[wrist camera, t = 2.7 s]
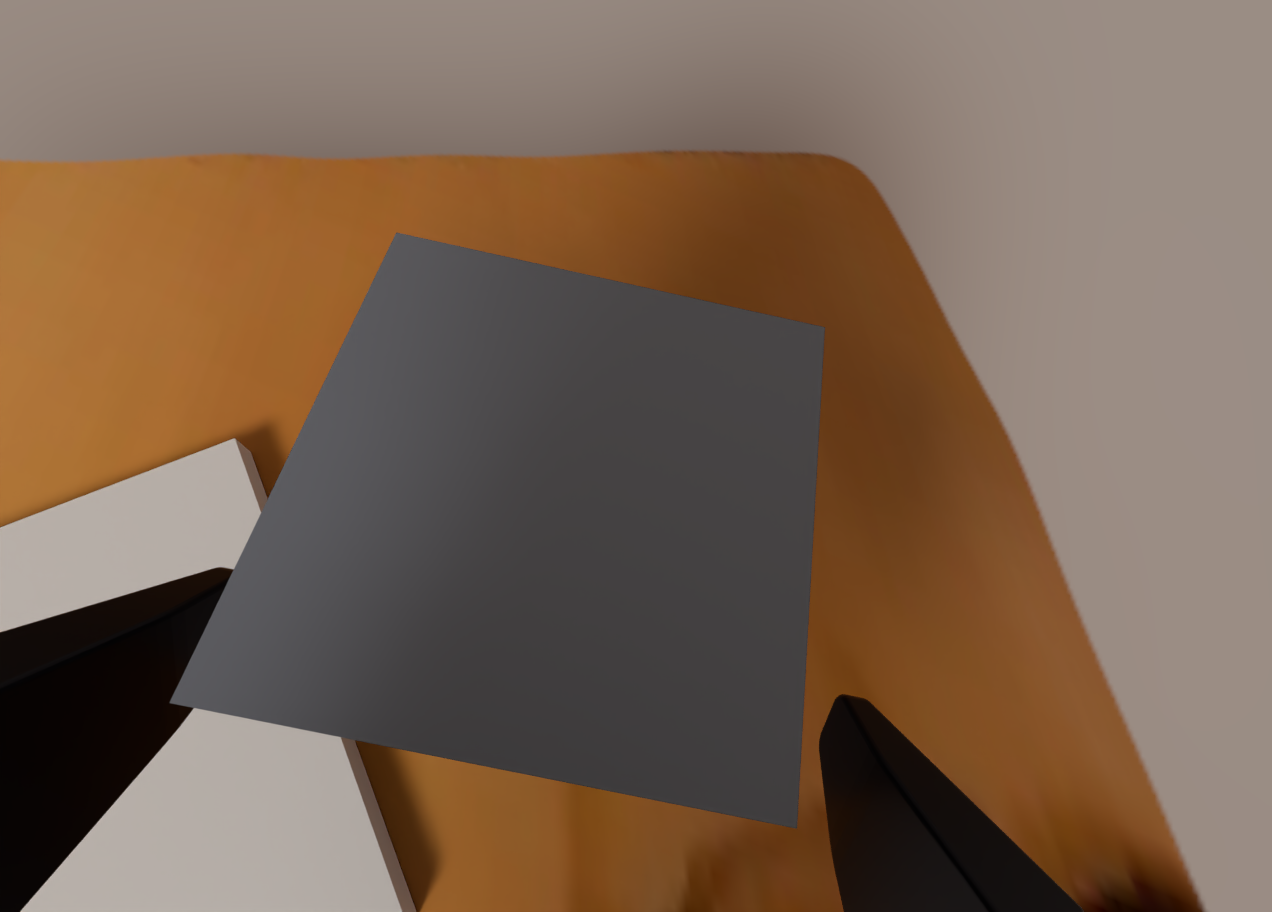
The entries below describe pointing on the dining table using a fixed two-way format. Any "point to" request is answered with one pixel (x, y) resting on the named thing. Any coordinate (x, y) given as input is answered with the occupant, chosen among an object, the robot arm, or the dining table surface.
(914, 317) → the dining table surface
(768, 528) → the tall block
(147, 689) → the robot arm
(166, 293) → the dining table surface
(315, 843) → the white plate
